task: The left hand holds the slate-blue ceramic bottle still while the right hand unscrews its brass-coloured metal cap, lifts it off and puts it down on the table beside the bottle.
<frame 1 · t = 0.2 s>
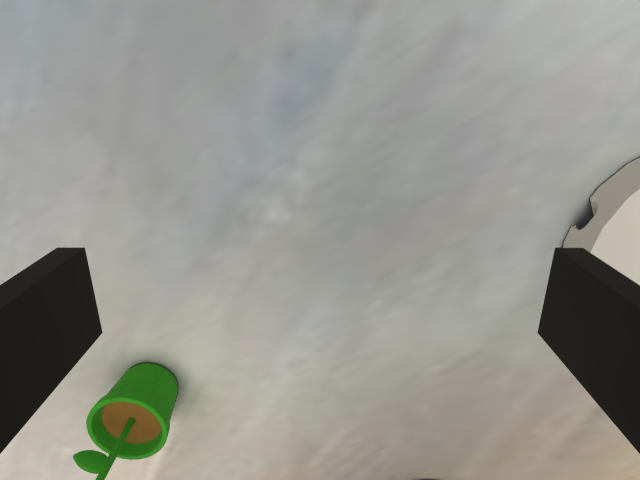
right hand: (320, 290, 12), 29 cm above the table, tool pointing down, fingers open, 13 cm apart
potted flower: (154, 384, 49), on the table
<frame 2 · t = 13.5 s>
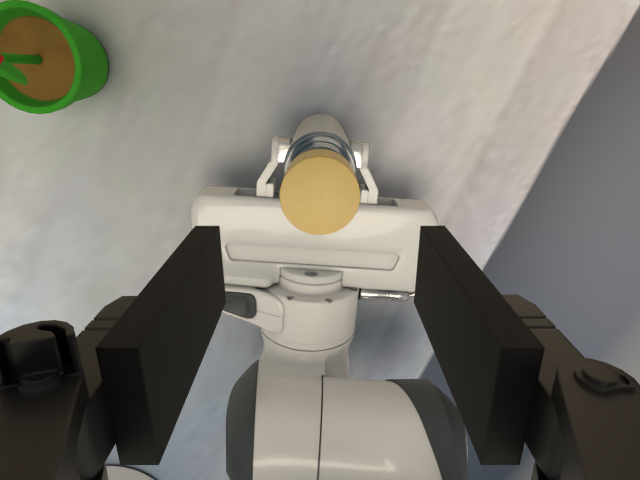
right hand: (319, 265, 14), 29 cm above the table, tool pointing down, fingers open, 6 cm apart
left hand: (320, 140, 34), fingers closed on bottle, 5 cm apart
potted flower: (72, 59, 39), on the table
cap: (319, 195, 22), point 20 cm above the table, screwed on, not yet turned
bottle: (320, 139, 41), on the table, touching left hand
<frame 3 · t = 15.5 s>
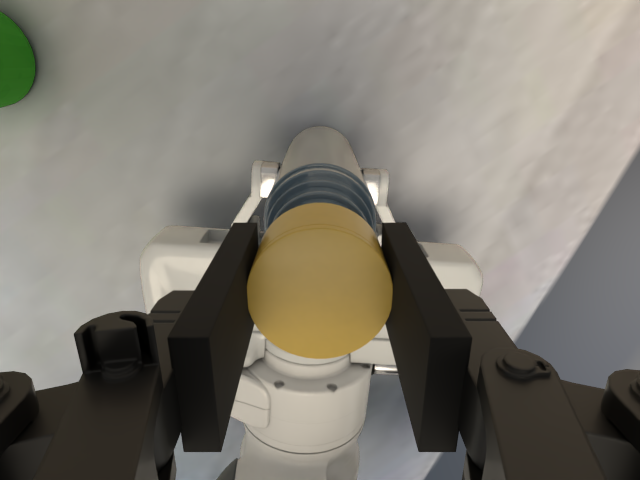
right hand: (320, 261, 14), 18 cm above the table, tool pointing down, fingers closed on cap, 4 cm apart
cap: (319, 292, 12), point 20 cm above the table, screwed on, not yet turned, touching right hand
bottle: (320, 160, 31), on the table, touching left hand
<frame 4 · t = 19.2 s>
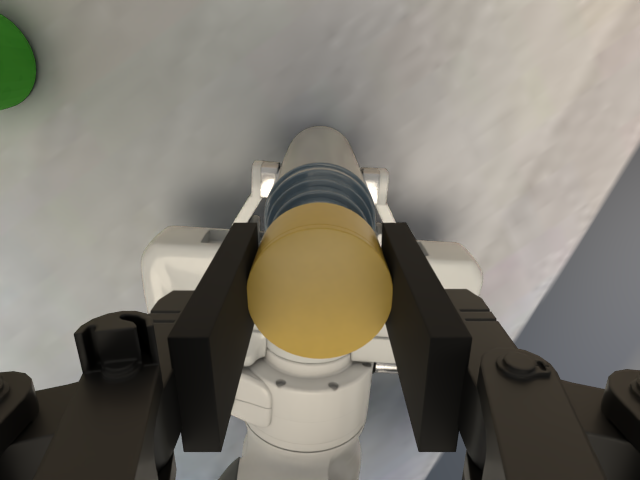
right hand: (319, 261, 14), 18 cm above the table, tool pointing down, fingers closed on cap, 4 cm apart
cap: (319, 292, 12), point 20 cm above the table, turned 109° so far, risen 0.1 cm, still on its thread, touching right hand
bottle: (319, 159, 31), on the table, touching left hand
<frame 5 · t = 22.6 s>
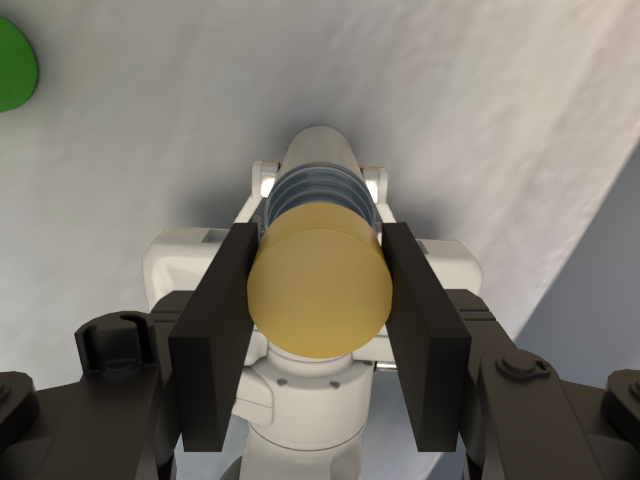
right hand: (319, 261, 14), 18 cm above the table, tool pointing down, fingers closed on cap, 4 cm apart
cap: (319, 292, 12), point 21 cm above the table, turned 217° so far, risen 0.2 cm, still on its thread, touching right hand
bottle: (319, 159, 31), on the table, touching left hand
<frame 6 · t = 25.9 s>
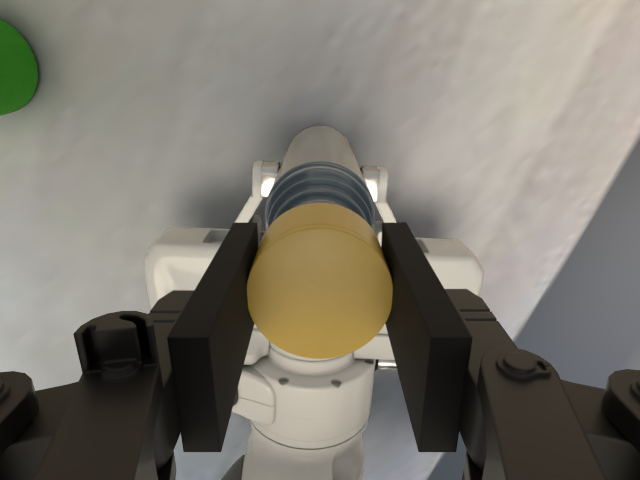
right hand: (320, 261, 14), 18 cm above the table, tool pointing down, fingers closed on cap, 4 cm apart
cap: (319, 292, 12), point 21 cm above the table, turned 326° so far, risen 0.4 cm, still on its thread, touching right hand
bottle: (319, 159, 32), on the table, touching left hand
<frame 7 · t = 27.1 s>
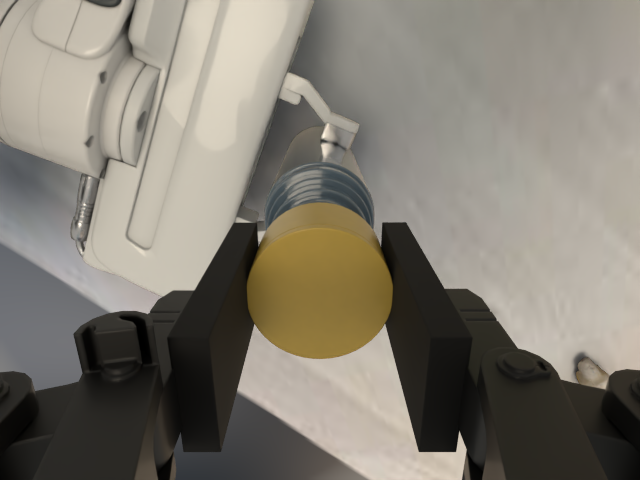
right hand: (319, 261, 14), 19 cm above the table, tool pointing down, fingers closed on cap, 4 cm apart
left hand: (333, 185, 26), fingers closed on bottle, 5 cm apart
cap: (319, 292, 12), point 21 cm above the table, off its thread, touching right hand
bottle: (319, 159, 32), on the table, touching left hand
syringe: (629, 446, 41), on the table
when the right hand's fingers open (2 cm above the table, at t = 33.2 s): cap drops 2 cm, point 2 cm above the table.
when the left hand's fingers open (7 cm above the table, at t = 34.5 s): bottle stays where it is, on the table.
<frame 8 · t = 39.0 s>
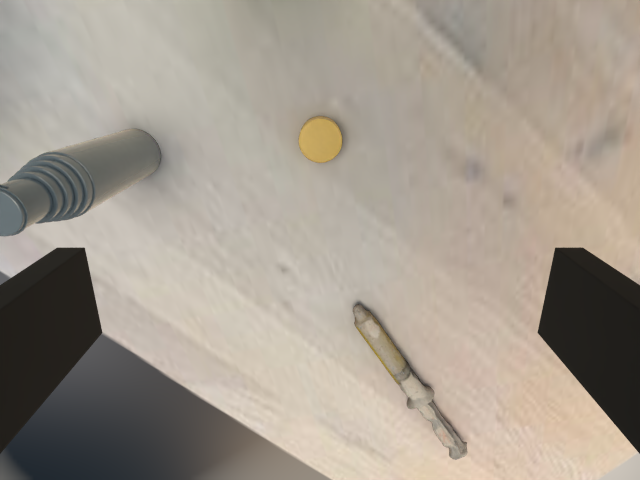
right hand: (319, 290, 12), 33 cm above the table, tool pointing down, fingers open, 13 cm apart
cap: (320, 140, 41), point 2 cm above the table, off its thread
bottle: (136, 153, 44), on the table
syringe: (411, 378, 53), on the table
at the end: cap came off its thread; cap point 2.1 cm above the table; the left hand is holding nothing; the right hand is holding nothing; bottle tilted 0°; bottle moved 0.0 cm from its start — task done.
